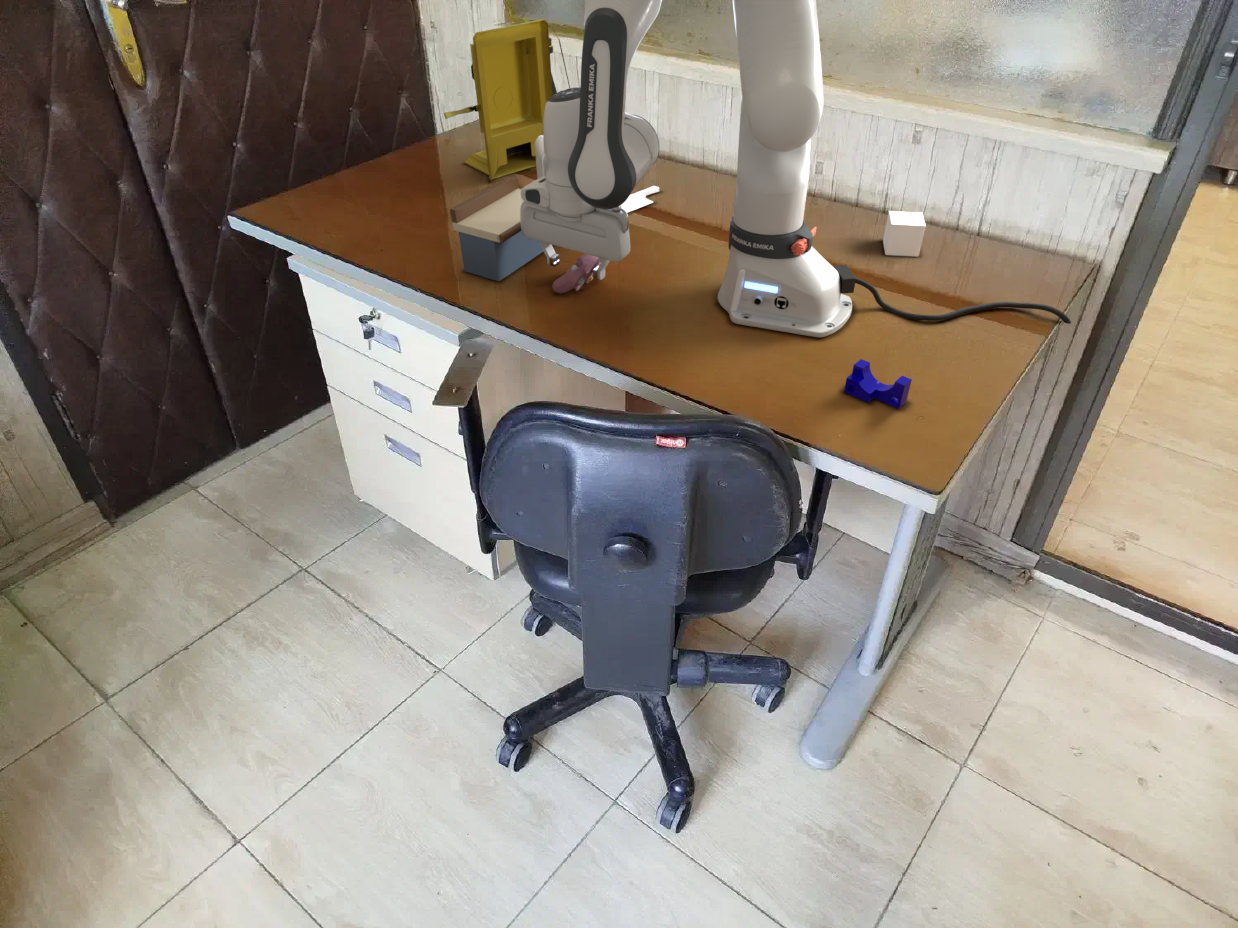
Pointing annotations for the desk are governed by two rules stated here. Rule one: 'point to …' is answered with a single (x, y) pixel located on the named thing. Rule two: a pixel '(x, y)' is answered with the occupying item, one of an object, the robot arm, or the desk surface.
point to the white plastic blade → (638, 199)
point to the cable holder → (876, 386)
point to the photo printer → (540, 157)
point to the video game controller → (577, 274)
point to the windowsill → (493, 231)
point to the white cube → (904, 233)
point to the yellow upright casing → (510, 94)
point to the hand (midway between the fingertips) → (576, 271)
